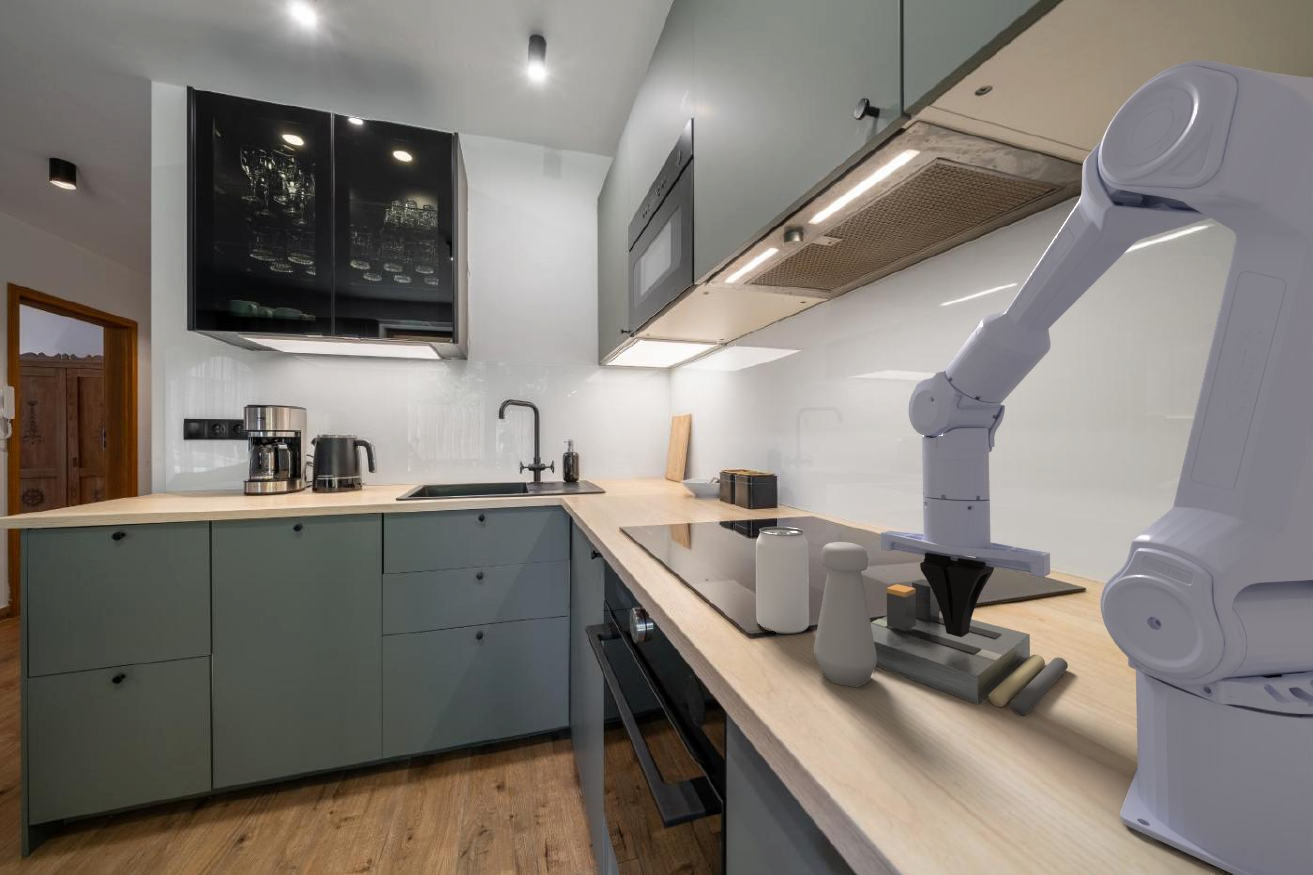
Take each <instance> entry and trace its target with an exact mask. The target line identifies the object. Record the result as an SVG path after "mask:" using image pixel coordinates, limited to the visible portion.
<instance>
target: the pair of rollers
mask: <svg viewBox="0 0 1313 875" xmlns="http://www.w3.org/2000/svg"><path fill="white" fill-rule="evenodd" d="M1045 664H1046V660H1045V658H1043V657H1042V656H1041V655H1039V654H1031V655H1030V658H1028V659H1027V660H1026V661H1025V662H1024V663H1023V664H1022V665H1021V666H1020V667H1018V668H1017V669H1016V670H1015V671H1014V672H1013V673H1012V674H1011V675H1010V676H1008V677H1007V678H1006V679H1005V680H1004V681H1003V682H1002V683H1001V684H1000V685H998V686H997V687H996V688H995V689H994V690H993V691H992V692H991V693H990V694H989V695H988V699H989V702H990V703H991V704H992V705H993V706H995V707H997V708H1003V707H1004V706H1005V705H1007V703H1008V702H1009V701H1010V700H1011V699H1012V698H1013V697H1014V696H1015V695H1016V694H1017V693H1018V692H1019V694H1017V695H1016V696H1015V697H1014V698H1013V699H1012V700H1011V701H1010V707H1011V710H1012V711H1013V712H1014V713H1015V714H1017V715H1019V716H1026V715H1027V714H1028V713H1029V712H1030V711H1031V710H1032V709H1033V708H1034V706H1036V704H1037V703H1038V702H1039V700H1040V699H1042V697H1043V696H1044V695H1045V694H1046V693H1047V692H1048V691H1049V690H1050V688H1051V687H1052V686H1053V685H1054V684H1055V683H1056V682H1057V680H1058V679H1059V678H1060V677H1061V676H1062V675H1063V674H1064V672H1065V671H1066V670H1067V669H1068V667H1069V664H1068V661H1066V659H1064V658H1063V657H1060V656H1059V657H1058V656H1057V657H1054V658H1053V659H1052V660H1050V662H1049V663H1048V664H1047V665H1046V666H1045ZM1044 666H1045V667H1044ZM1043 667H1044V668H1043ZM1042 668H1043V669H1042ZM1041 669H1042V670H1041ZM1040 670H1041V671H1040ZM1038 672H1039V673H1038ZM1037 673H1038V674H1037ZM1036 674H1037V675H1036ZM1035 675H1036V676H1035ZM1034 676H1035V677H1034ZM1032 678H1033V679H1032ZM1031 679H1032V680H1031ZM1029 681H1030V682H1029ZM1028 682H1029V683H1028ZM1027 683H1028V684H1027ZM1026 684H1027V685H1026ZM1025 685H1026V686H1025ZM1024 686H1025V687H1024ZM1023 687H1024V688H1023ZM1022 688H1023V689H1022ZM1021 689H1022V690H1021Z"/></svg>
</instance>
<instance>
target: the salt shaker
mask: <svg viewBox="0 0 1313 875" xmlns="http://www.w3.org/2000/svg"><path fill="white" fill-rule="evenodd" d="M820 555H821V558H820V560H821V565H822V566H823V567H825V568H827V572H826V579H825V584H824V590H823V595H822V600H821V606H820V611H819V618H818V622H817V628H816V635H815V639H814V640H815V641H814V645H813V653H814V657H815V658H816V662H817V663H818V666H819V668H820V670H821V673H822V675H823V676H824V677H826V678H827V679H828V680H829V681H831V682H832V683H834V684H837V685H840V686H841V685H843V686H847V687H852V688H857V687H860V686H862V685H865V684H867V683H869V682H870V679H871V678H872V676H873V672H874V670H875V668H876V667H877V666H876V663H877V655H876V649H875V644H874V639H873V634H872V629H871V619H870V613H869V607H868V602H867V598H866V592H865V586H864V580H863V574H862V572H863V571H865V570H867V569H868V565H869V564H868V562H869V561H868V560H869V559H868V558H869V557H868V552H867V550H866V549H865V547H863V546H862V545H859V544H857V543H852V542H845V541H834V542H829V543H826V544H825V545H824V546H823V547H822V549H821V554H820Z"/></svg>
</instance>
